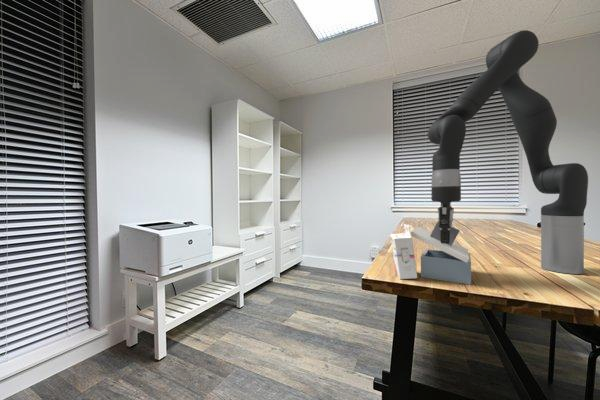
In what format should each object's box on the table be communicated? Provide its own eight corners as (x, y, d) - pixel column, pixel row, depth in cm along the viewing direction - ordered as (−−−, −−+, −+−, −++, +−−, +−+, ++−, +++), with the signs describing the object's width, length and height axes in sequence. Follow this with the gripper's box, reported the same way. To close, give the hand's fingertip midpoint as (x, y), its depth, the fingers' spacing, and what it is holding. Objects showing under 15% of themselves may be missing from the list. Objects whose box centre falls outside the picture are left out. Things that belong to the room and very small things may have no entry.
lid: (417, 229, 84) (425, 213, 82) (465, 252, 76) (475, 234, 75) (409, 235, 71) (419, 215, 70) (466, 262, 64) (478, 241, 62)
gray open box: (426, 267, 81) (426, 249, 81) (470, 273, 75) (470, 253, 75) (420, 276, 71) (420, 256, 71) (471, 284, 65) (470, 262, 65)
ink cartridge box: (394, 271, 77) (388, 224, 78) (411, 270, 76) (405, 223, 77) (399, 279, 69) (392, 227, 69) (418, 278, 68) (411, 226, 68)
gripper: (460, 184, 65) (460, 246, 65) (461, 186, 77) (461, 239, 77) (428, 185, 69) (428, 243, 69) (433, 187, 81) (433, 237, 81)
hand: (445, 241), depth 73 cm, fingers open, 6 cm apart
